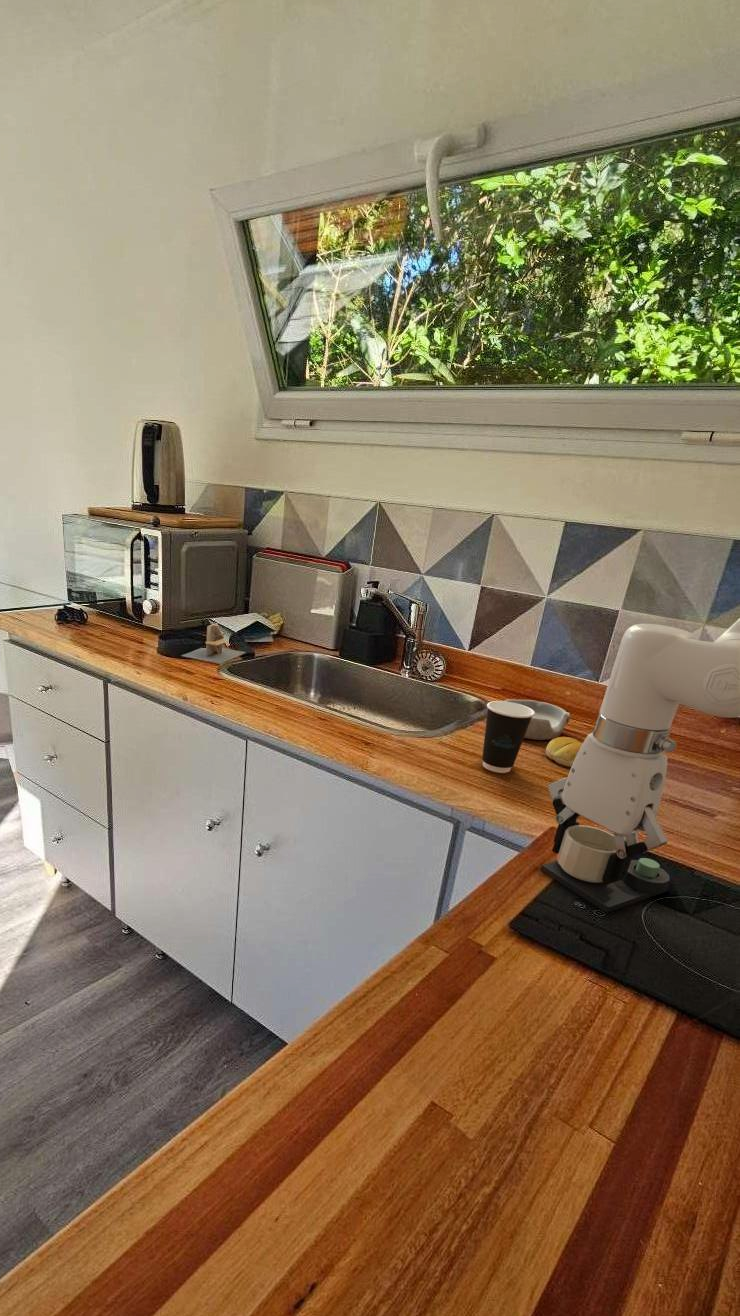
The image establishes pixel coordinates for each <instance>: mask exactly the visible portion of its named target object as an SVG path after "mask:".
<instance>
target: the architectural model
mask: <svg viewBox="0 0 740 1316" xmlns="http://www.w3.org/2000/svg"><path fill="white" fill-rule="evenodd" d="M224 637H225V633H224V632H222V631H221V629H220V627H219V622H215V623H212V624H210V625H207V626H206V641H205V644H206V645H205V646H206V648H202V647H200V648H197V649H195V650H192V651H190V652H187V653H183V654H181V657H185V658H189V659H190V658H191V659H194V660H195V659H196V660H200V661H205V662H210V663H215V664H220V665H222V664H223V663H227V662H229V661H232V660H233V659H235V658H238V657H240V656H242V655H245V654H246V653H247V651H241V650H236V649H230V648H225V647H224V643H227V642H229V639H228V638H224Z"/></svg>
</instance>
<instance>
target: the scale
mask: <svg viewBox="0 0 740 1316" xmlns="http://www.w3.org/2000/svg"><path fill="white" fill-rule="evenodd" d="M638 861H639V859H632V860H631V863H630V865H629V868H628V871H627V874H626V876H625V877H624V878H623V879H622V880H620V881H617V882H614V883H611V884H605V883H603V882H599V883H595V882H587V881H583V880H580V879H578V878H575V877H573V876H571V875H569V874H568V873H567V872H565V871H564V870H563V869H562V867H561V866H560V864H559V863H558V860H557V859H556V860H555V861H554V860H553V861H551V862H547V863H544V864H541V866H540V870H539V871H541V872H542V873H544V874H545V875H547V876H549V877H550V878H552V879H553V880H555V881H556V882H558V883H559V884H561V885H562V886H564V887H565V888H567V889H569V890H570V891H572V892H573V893H575V894H577V896H580V897H581V898H583V899H584V900H586V901H587V902H589V903H591V904H592V905H593V906H595V907H597V908H599V910H601V911H603V912H605V913H607V914H608V913H611V912H614V911H616V910H619V909H622V908H624V907H627V906H630V905H632V904H635V903H639V902H641V901H643V900H646V899H650V898H652V897H655V896H657V895H660V894H663V893H666V892H668V889H669V884H670V879H671V876H670V874H668V872H667V871H666V870H665V869H664V868H661V867H660V868H659V870H658V873H657V876H656V877H655V878H652V877H646V876H643V875H641V874H639V873H637V872H636V867H637V864H638Z"/></svg>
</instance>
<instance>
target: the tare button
mask: <svg viewBox="0 0 740 1316" xmlns="http://www.w3.org/2000/svg"><path fill="white" fill-rule="evenodd" d="M638 860H639V861H638V864H637V867H636V872H637V873H639V874H641V875H643V876H646V877H652V878H655V877H656V876H657V873H658V870H659V868H661V865H660V863H658V862H657V861H656V860H654V859H651V858H646V857H641V858H639V859H638Z"/></svg>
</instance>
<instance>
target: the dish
mask: <svg viewBox="0 0 740 1316" xmlns="http://www.w3.org/2000/svg"><path fill="white" fill-rule="evenodd" d="M504 701H506V702H513V703H517V704H521V705H524V706H527V707H529V708H531V709H532V710H533V711H534V712H535V715H534V716H532V718H531V721H530V723H529V726H528V729H527V731H526V734H525V736H524V739H529V740H538V741H545V740H553V739H555V738H559V737H560V736H561V735H562V733H563V731H564V728H565V727H566V724H568V723H569V722H570V719H571V713H570V712H567V711H566V710H565V709H564V708H561V707H560V706H558V705H554V704H552V703H548V702H545V701H537V700H533V699H504Z"/></svg>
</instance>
